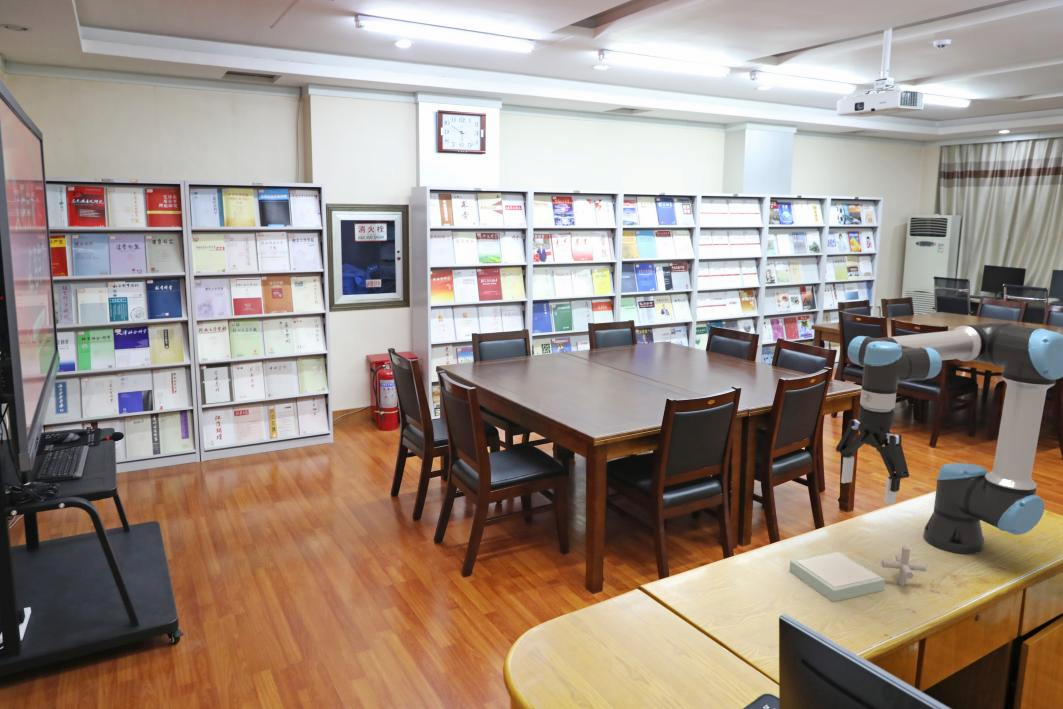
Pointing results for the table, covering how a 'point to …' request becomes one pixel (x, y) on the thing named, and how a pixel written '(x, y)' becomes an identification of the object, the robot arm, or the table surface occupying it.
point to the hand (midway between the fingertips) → (867, 492)
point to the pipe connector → (904, 565)
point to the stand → (836, 576)
